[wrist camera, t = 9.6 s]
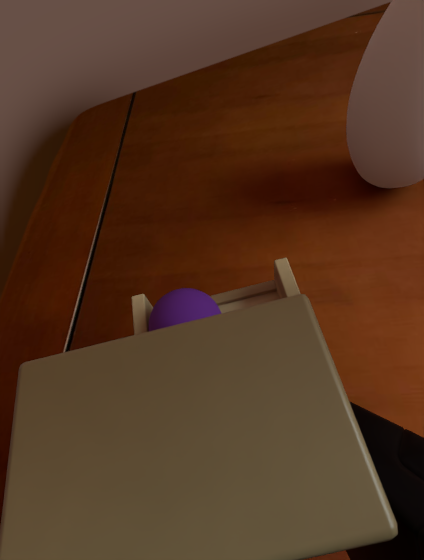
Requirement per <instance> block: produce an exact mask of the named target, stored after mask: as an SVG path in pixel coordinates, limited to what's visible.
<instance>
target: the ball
mask: <svg viewBox="0 0 424 560" xmlns="http://www.w3.org/2000/svg"><path fill="white" fill-rule="evenodd" d="M217 314H221V311H220V309H219V307H218V305H217V304H216V302H215V301H214V300H213V299H212V298H211V297H210V296H208V295H207V294H205V293H204V292H201V291H199V290H196V289H190V288H182V289H177V290H174V291H171V292H169V293H167V294H166V295H164V296H163V297H162V298H161V299H160V300H159V301H158V302H157V303H156V304H155V306H154V307H153V309H152V312H151V314H150V318H149V331H153V330H157V329H161V328H165V327H169V326H173V325H177V324H181V323H185V322H189V321H193V320H197V319H201V318H205V317H209V316H213V315H217Z"/></svg>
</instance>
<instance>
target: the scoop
mask: <svg viewBox="0 0 424 560" xmlns="http://www.w3.org/2000/svg"><path fill="white" fill-rule="evenodd" d="M274 279H275V281H274V280H272V281H268V282H265V283H261V284H257V285H253V286H249V287H245V288H241V289H237V290H233V291H229V292H225V293H221V294H217V295H213V296H210V297H211V298H212V299H213V300H214V301H215V302H216V304H217V305H218V307H219V309H220V311H221V314H217V315H213V316H209V317H205V318H201V319H197V320H193V321H189V322H185V323H181V324H177V325H173V326H169V327H165V328H161V329H157V330H153V331H149V318H150V314H151V312H152V309H153V307H152V305H151V304H150V302H149V301H148V299H147V298H146V296H145V295H144V294H140V295H136V296H133V297H132V309H133V323H134V335H133V336H129V337H125V338H121V339H117V340H113V341H109V342H105V343H101V344H97V345H93V346H89V347H85V348H81V349H77V350H73V351H68V352H64V353H60V354H56V355H52V356H48V357H44V358H40V359H36V360H32V361H28V362H25V363H23V364H21V366H20V368H19V373H18V382H17V390H16V399H15V407H14V416H13V424H12V433H11V442H10V450H9V459H8V467H7V476H6V484H5V493H4V501H3V510H2V518H1V527H0V560H303V559H307V558H312V557H317V556H321V555H326V554H331V553H335V552H340V551H344V550H349V549H354V548H358V547H363V546H367V545H372V544H377V543H381V542H386V541H390V540H392V539H393V538H394V537H395V536H397V535H398V528H397V522H396V519H395V517H394V514H393V512H392V509H391V507H390V504H389V501H388V499H387V496H386V494H385V491H384V489H383V486H382V484H381V481H380V479H379V476H378V473H377V471H376V468H375V466H374V463H373V461H372V458H371V456H370V453H369V451H368V448H367V446H366V443H365V440H364V438H363V435H362V433H361V430H360V428H359V425H358V423H357V420H356V418H355V415H354V412H353V410H352V407H351V405H350V402H349V400H348V397H347V395H346V392H345V390H344V387H343V384H342V382H341V379H340V377H339V374H338V372H337V369H336V367H335V364H334V362H333V359H332V356H331V354H330V351H329V349H328V346H327V344H326V341H325V339H324V336H323V334H322V331H321V329H320V326H319V323H318V321H317V318H316V316H315V313H314V311H313V308H312V306H311V303H310V301H309V299H308V298H307V297H306V295H305V294H300V291H299V289H298V286H297V283H296V281H295V278H294V276H293V273H292V270H291V268H290V265H289V262H288V260H287V258H282V259H279V260H275V261H274Z"/></svg>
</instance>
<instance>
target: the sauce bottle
mask: <svg viewBox="0 0 424 560" xmlns="http://www.w3.org/2000/svg"><path fill="white" fill-rule="evenodd" d="M346 135H347V144H348V148H349V153H350V156H351V159H352V162H353V164H354V166H355V168H356V170H357V172H358V173H359V175H360V176H361V177H362V178H363V179H364V180H366V181H367V182H369V183H370V184H372V185H375V186H377V187H381V188H399V187H405V186H410V185H412V184H415V183H417V182H419V181H421V180H423V179H424V0H392V2H391V3H390V5H389V6H388V8H387V10H386V11H385V13H384V15H383V17H382V18H381V20H380V22H379V24H378V25H377V27H376V29H375V31H374V33H373V35H372V37H371V39H370V41H369V44H368V46H367V48H366V50H365V53H364V55H363V58H362V60H361V63H360V65H359V68H358V71H357V73H356V76H355V79H354V83H353V86H352V90H351V94H350V99H349V104H348V111H347V125H346Z"/></svg>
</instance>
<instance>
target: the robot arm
mask: <svg viewBox="0 0 424 560" xmlns="http://www.w3.org/2000/svg"><path fill="white" fill-rule="evenodd" d="M349 402H350V401H349ZM350 405H351V407H352V410H353V412H354V415H355V418H356V420H357V423H358V425H359V428H360V430H361V433H362V435H363V438H364V440H365V443H366V446H367V448H368V451H369V453H370V456H371V458H372V461H373V463H374V466H375V468H376V471H377V473H378V476H379V479H380V481H381V484H382V486H383V489H384V491H385V494H386V496H387V499H388V501H389V504H390V507H391V509H392V512H393V514H394V517H395V519H396V522H397V528H398V535H397V536H395V537H394V538H393V539H392V540H390V541H386V542H381V543H377V544H372V545H367V546H363V547H358V548H354V549H349V550H346V551H347V553H348V555H349V558H350V560H424V438H423V437H421V436H419V435H417V434H415V433H413V432H411V431H409V430H407V429H405V430H404V428H402V427H401V426H399V425H397V424H394V423H392V422H390V421H388V420H386V419H384V418H382V417H380V416H378V415H376V414H374V413H372V412H370V411H368V410H366V409H364V408H362V407H360V406H358V405H356V404H354V403H352V402H350Z"/></svg>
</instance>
